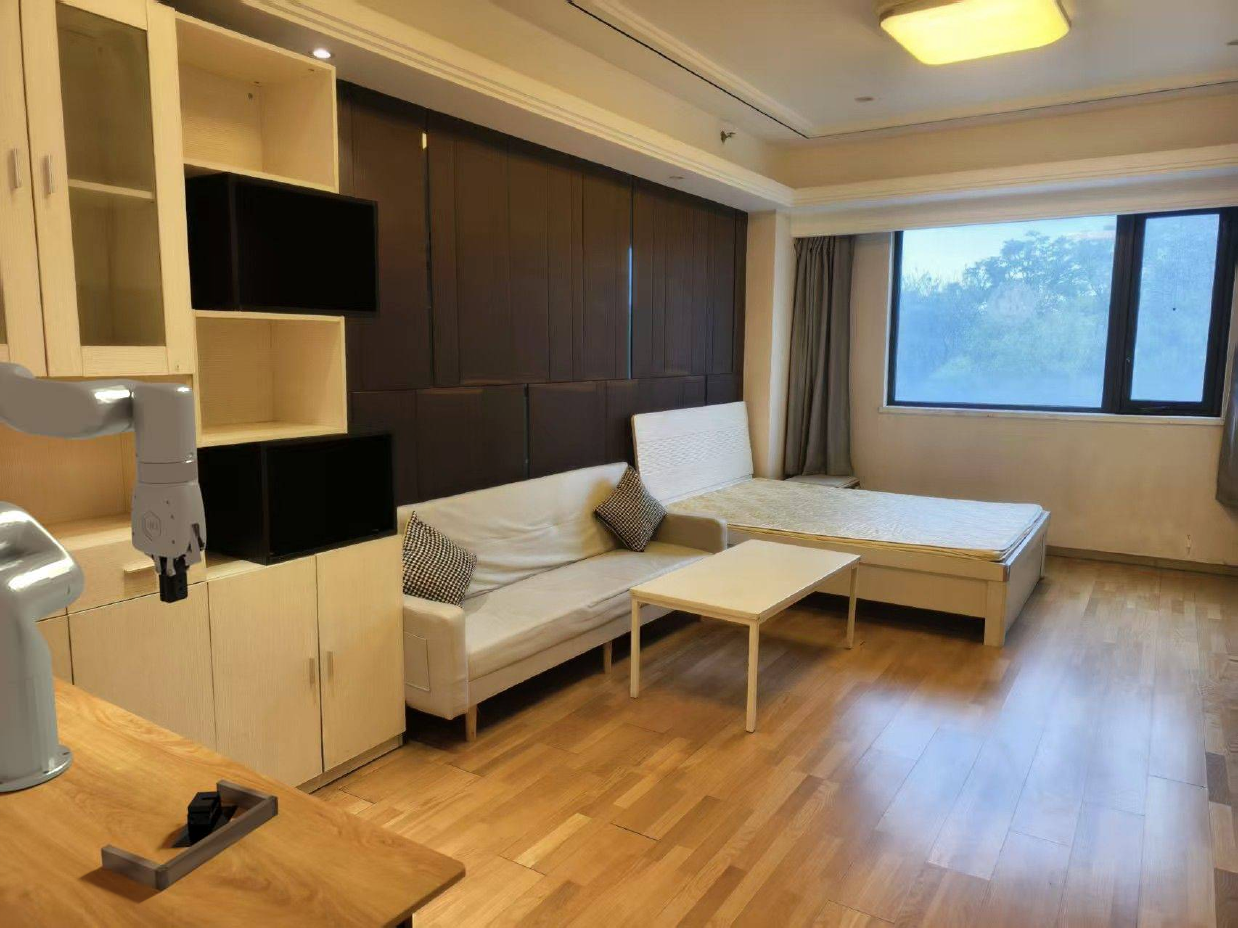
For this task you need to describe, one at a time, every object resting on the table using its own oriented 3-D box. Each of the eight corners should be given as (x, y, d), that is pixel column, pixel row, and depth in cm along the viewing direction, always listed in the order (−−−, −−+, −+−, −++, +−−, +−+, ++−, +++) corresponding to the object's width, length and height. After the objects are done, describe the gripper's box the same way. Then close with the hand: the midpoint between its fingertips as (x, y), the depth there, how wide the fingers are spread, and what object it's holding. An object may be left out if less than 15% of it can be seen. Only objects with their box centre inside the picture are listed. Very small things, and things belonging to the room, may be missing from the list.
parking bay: (102, 867, 104) (100, 848, 104) (222, 795, 121) (222, 779, 120) (161, 891, 100) (160, 871, 100) (278, 813, 116) (277, 796, 116)
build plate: (217, 857, 108) (214, 824, 107) (156, 861, 107) (153, 827, 106) (247, 802, 120) (245, 772, 119) (193, 805, 119) (191, 775, 118)
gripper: (106, 470, 117) (114, 598, 119) (179, 482, 110) (186, 616, 113) (156, 463, 123) (163, 584, 126) (228, 474, 117) (233, 601, 120)
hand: (174, 599), depth 120 cm, fingers closed
